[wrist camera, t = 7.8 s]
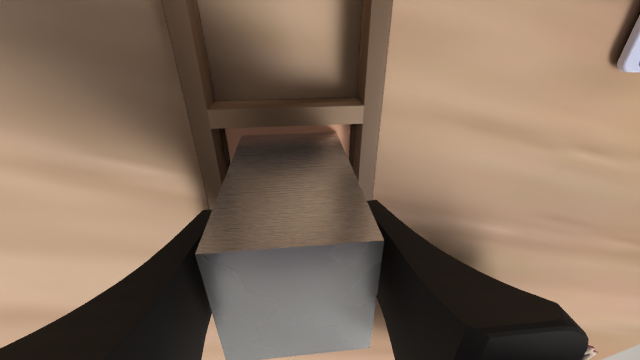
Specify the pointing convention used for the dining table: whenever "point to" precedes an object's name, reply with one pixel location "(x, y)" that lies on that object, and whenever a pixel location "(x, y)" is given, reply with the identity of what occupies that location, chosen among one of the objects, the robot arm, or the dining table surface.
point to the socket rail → (282, 112)
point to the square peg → (291, 250)
